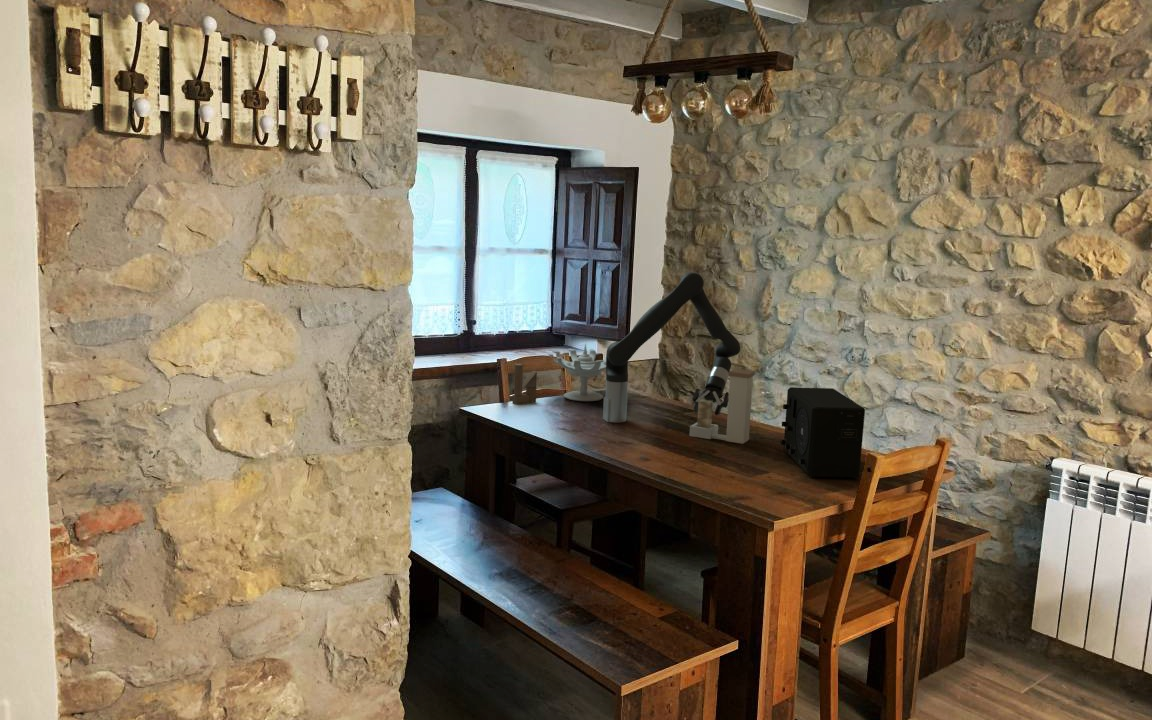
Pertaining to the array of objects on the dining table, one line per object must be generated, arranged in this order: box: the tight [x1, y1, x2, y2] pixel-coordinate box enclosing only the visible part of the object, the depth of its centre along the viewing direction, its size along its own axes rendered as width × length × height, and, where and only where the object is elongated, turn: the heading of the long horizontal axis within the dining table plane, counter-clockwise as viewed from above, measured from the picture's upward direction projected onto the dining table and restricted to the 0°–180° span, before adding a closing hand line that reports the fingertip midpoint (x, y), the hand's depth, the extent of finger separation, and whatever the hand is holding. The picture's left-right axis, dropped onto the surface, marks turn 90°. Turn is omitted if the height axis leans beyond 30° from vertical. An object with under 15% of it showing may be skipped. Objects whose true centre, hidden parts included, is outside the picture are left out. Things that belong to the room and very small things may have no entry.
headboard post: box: [689, 368, 756, 445], centre depth 351 cm, size 22×9×28 cm, turn 62°
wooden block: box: [512, 363, 538, 405], centre depth 404 cm, size 4×11×18 cm, turn 126°
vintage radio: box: [779, 386, 866, 479], centre depth 318 cm, size 38×20×25 cm, turn 1°
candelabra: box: [547, 341, 606, 402], centre depth 417 cm, size 34×35×27 cm
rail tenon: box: [696, 400, 714, 428], centre depth 355 cm, size 4×4×14 cm
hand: (705, 412), depth 356 cm, fingers open, 8 cm apart
